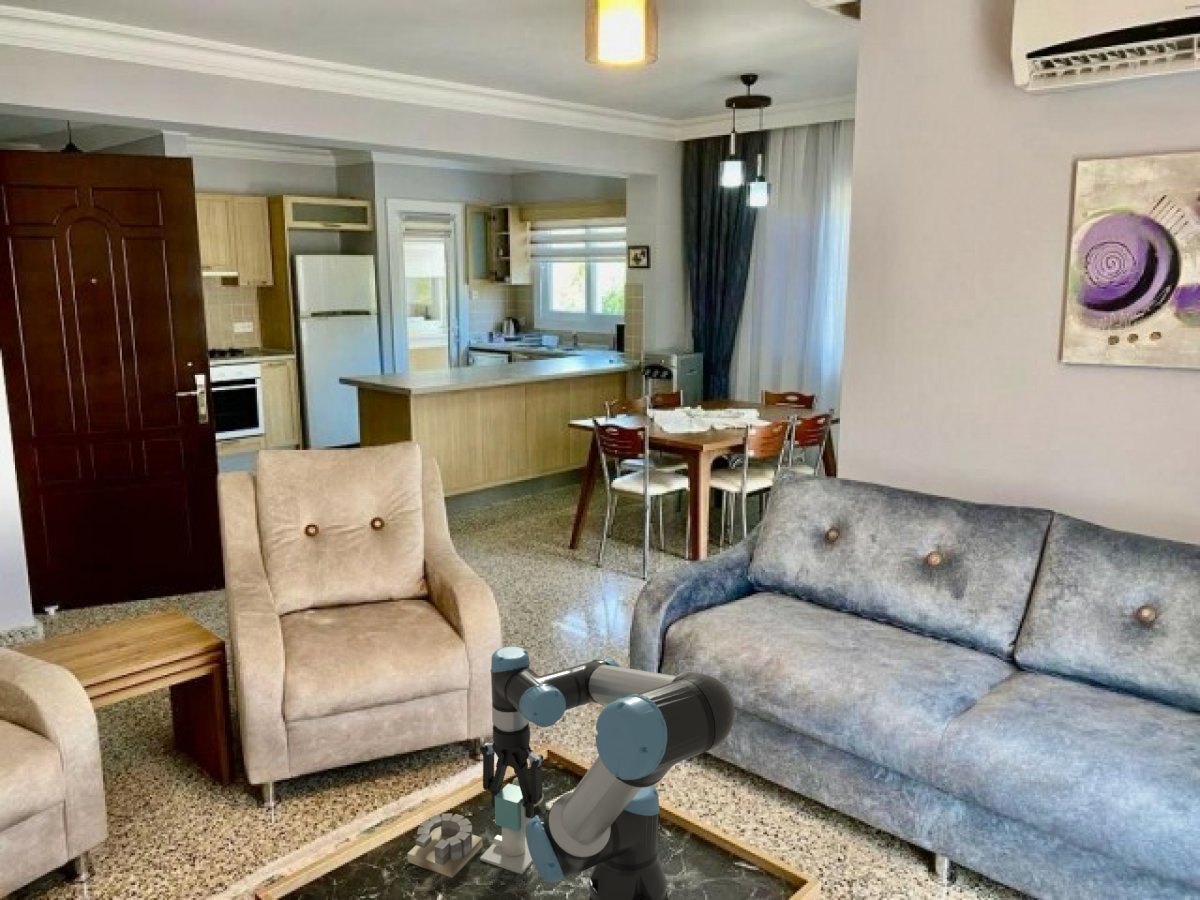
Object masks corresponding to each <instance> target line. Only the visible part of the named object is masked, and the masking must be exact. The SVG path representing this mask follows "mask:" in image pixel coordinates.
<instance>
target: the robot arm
mask: <svg viewBox="0 0 1200 900" xmlns="http://www.w3.org/2000/svg"><path fill="white" fill-rule="evenodd" d="M530 664H531V661H530V655H529V652H528V651H527V650H526V649H525V648H523V647H519V646H505V647H501V648H498V649H497V650H495V651H494V652H493V653H492V654H491V667H490V677H491V678H490V681H491V682H490V683H491V714H492V716H491V717H492V719H491V720H492V721H491V722H492V741H491V740H487V741H486V742H485V743H484V744H483V745H482V746H481V747H480V750H481V754H482V789H483V790H485V791H487V790H488V791H489V792H490V794H491V806H492V808H494V815H495V817H494V820H495V822H494V824H495V826H497V825H496V810H495V796H496V795H497V794H498V793H499V792H500V791H501V790H502V789H503V788H504V785H503V783H504V780H505V776H506V772H507V768H508V767H511V768H512V769H513V772H514V774H515V775H516V777H517V778H518V782H519V785H520V789H521V793H522V796H523V800H524V801H523V802H522V803H521V833H525V837H526V840H527V845H528V849H529V852H530V855H531V858H532V861H533V862H532V863H533V865H534V867H535V869H536V870H537V872H538V874H539V875H540V877H541V878H542V879H543V880H544V881H545V882H546V883H550V884H554V883H558V882H560V881H565V880H566V879H569V878H570V877H572V876H575V875H578V874H579V873H582V872H584V871H586V870H589V869H590V868H592V869H591V871H590V875H589V881H588V882H589V883H588V884H589V885H588V887H589V888H588V891H589V892H588V893H589V896H590V898H591V900H665V899H666V896H667V878H666V875H665V871H664V869H663V866H662V862H661V859H660V856H659V824H660V823H659V821H660V812H661V811H660V810H661V808H660V802H659V801H660V798H659V797H660V796H659V792H658V790H657V788H656V786H655V785H656V784H658V783H659V782H660V781H662V779H663V777H665V776H666V774H667V773H668V772H669V771H670V770H671V768H673V766H675V765H677V764H678V763H681V762H683V761H686V760H689V759H692V758H694V757H696V756H699V755H701V754H703V753H707V752H710V751H712V750H714V749H716V748H717V747H718V746H720V745H721V744H722V743H723V742H724V741H725V740H726V739H727V737H728V736H729V734H730V733H731V731H732V728H733V726H734V722H735V718H736V717H735V715H736V709H735V702H734V700H733V697H732V694H731V693H730V691H729V689H728V688H727V687H726V686H725V684H724V683H723V682H722V681H720V680H719V679H718V678H716V677H714V676H711V675H709V674H705V673H699V672H691V671H686V672H685V671H684V672H682V673H679V674H678V675H671V674H666V673H660V672H654V671H653V672H652V671H647V670H640V669H635V668H628V667H622V666H620V664H619V663H618V662H616V661H615V659H613V658H610V657H604V658H598V659H593V660H591V661H588V662H585V663H582V664H578V665H575V666H571V667H569V668H565V669H562V670H557V671H554V672H550V673H546V674H543V675H539V674H537V673H536V672H534V670H532V669H531V668H530ZM591 703H593V704H598V705H602V706H603V705H604V706H605V707H604V708H603V709H602V710H601V712H600V714H599V715H598V717H597V720H596V724H595V725H596V726H595V730H596V732H597V733H596V734H595V745H596V749H597V753H598V755H597V757H596V759H595V760H594V762H593V763H592V765H591V766H590V767H589V769H588V770H587V771H586V773H584V774H585V775H584V776H583V777H582V778H581V780H580V782H578V784H577V786H576V787H575V789H573V791H572V792H570V791H569V792H567V793H565V794H563V795H561V796H560V797H559V798H558V799H556V800H555V802H554V803H553V804H552V805H551V807H550V809H549V810H547V811H546V812H545V813H542V814H540V815H538V814H536V815H535V816H534V813H535V807H534V805H536V804H537V803H538V802H539V801H540V800H541V799H542V797H543V795H544V792H543V775H542V773H543V771H542V765H543V762H544V756H543V755H542V754H539V755H536V754H535V753H533V752H532V749H531V745H530V741H531V723H533V724H535V726H537V727H541V728H548V727H549V728H550V727H552V726H554V725H555V724H556V723H557V722H558V721H560V720H561V719H562V718H563V716H564V715H565V711H568V710H572V709H573V708H577V707H580V706H583V705H587V704H591ZM530 722H531V723H530ZM495 755H496V757H497V762H496V765H495ZM528 760H529V762H528ZM495 767H496V768H495ZM528 767H530V770H529V768H528ZM543 798H544V797H543Z"/></svg>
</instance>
